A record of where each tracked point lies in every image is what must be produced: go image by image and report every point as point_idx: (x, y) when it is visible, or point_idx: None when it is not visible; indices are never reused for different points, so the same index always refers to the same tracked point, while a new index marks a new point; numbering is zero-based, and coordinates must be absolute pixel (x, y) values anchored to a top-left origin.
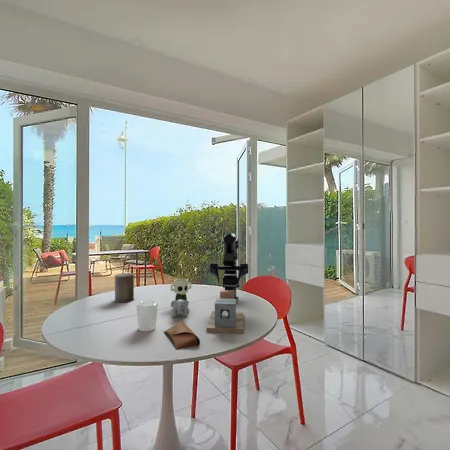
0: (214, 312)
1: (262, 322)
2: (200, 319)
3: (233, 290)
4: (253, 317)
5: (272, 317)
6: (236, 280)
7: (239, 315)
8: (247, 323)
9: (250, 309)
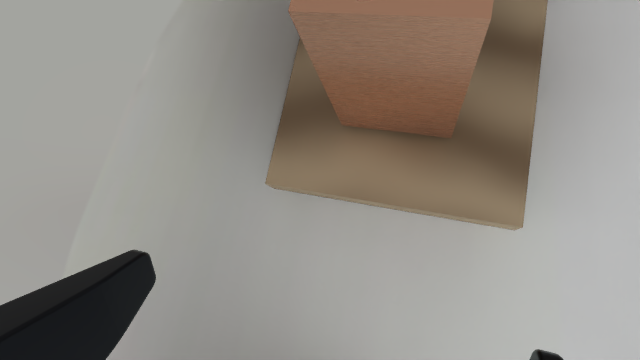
0: (502, 178)
1: (200, 51)
2: (617, 109)
3: (299, 1)
4: (222, 134)
5: (120, 129)
6: None
7: (310, 98)
8: (285, 36)
9: (191, 311)
